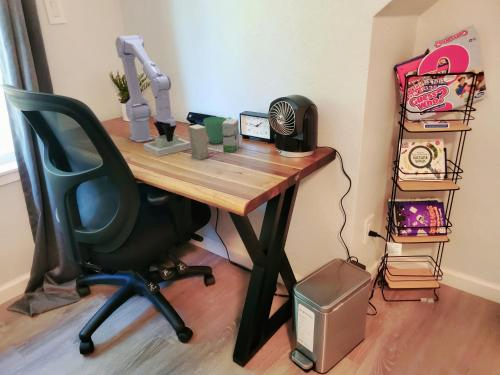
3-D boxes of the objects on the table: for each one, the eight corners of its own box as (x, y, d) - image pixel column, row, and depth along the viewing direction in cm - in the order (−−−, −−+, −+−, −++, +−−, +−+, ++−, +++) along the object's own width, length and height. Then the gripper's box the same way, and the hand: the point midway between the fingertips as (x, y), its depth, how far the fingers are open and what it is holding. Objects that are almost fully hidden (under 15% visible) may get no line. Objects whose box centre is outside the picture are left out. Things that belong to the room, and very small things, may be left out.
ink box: (234, 152, 156) (233, 123, 152) (223, 152, 157) (221, 123, 153) (239, 146, 164) (238, 118, 160) (228, 145, 165) (227, 118, 161)
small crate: (155, 145, 162) (154, 137, 160) (172, 141, 166) (171, 133, 165) (161, 147, 158) (160, 139, 157) (178, 143, 163) (178, 135, 161)
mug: (214, 146, 164) (212, 123, 160) (200, 142, 171) (198, 119, 167) (240, 139, 174) (239, 117, 170) (226, 135, 180) (225, 113, 176)
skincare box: (208, 157, 152) (206, 126, 147) (198, 160, 149) (196, 129, 144) (200, 153, 156) (198, 123, 151) (190, 156, 154) (188, 125, 149)
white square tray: (144, 149, 163) (143, 143, 162) (175, 142, 172) (175, 136, 171) (158, 156, 154) (157, 150, 153) (191, 148, 163) (190, 142, 162)
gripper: (181, 108, 153) (184, 141, 159) (163, 103, 164) (166, 134, 169) (165, 111, 149) (169, 145, 154) (147, 105, 159) (151, 137, 165)
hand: (166, 140), depth 161 cm, fingers closed on small crate, 5 cm apart
